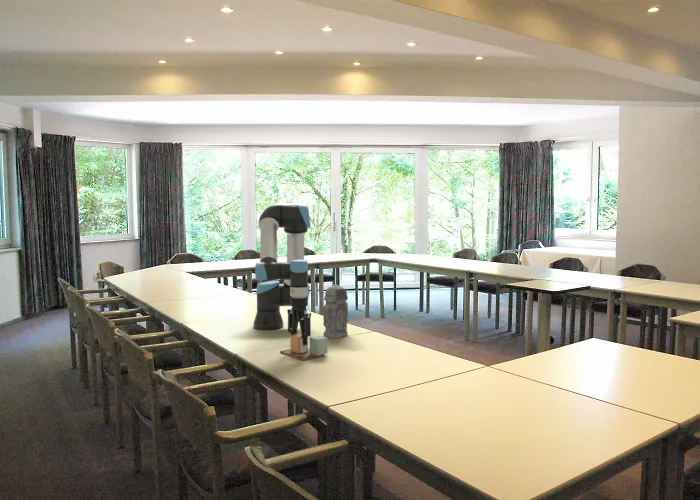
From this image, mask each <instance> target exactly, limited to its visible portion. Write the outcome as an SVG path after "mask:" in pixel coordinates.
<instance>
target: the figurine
mask: <svg viewBox="0 0 700 500" xmlns="http://www.w3.org/2000/svg"><path fill="white" fill-rule="evenodd" d="M347 292H348V291H347V290H346V288H344V286H340V285H338V284H336V283H335V284H333V285H331V286H329V287H327V289H326V290H325V294H324V298H323V300H324V301H325V305H323V310H322V312H323V323H322V324H323V327H324V328H325V331H324V332H323V335H322V336H323V337H327V338H330V339H339V338H344V337H348V335H349V334H348V331H347V330H348V322H349V317H348V312H349V307H348V306H349V305H348V299H349V297H348V293H347Z"/></svg>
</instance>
